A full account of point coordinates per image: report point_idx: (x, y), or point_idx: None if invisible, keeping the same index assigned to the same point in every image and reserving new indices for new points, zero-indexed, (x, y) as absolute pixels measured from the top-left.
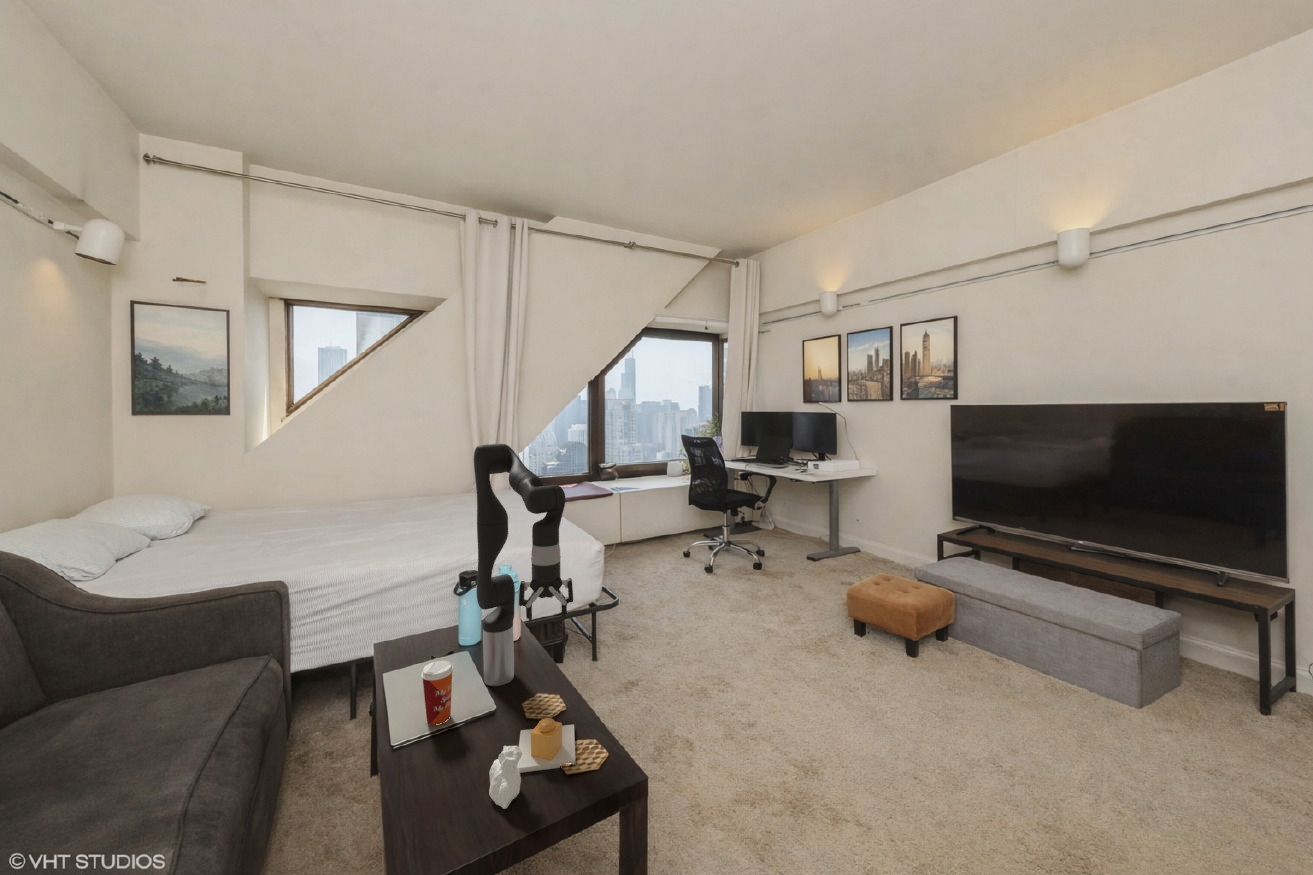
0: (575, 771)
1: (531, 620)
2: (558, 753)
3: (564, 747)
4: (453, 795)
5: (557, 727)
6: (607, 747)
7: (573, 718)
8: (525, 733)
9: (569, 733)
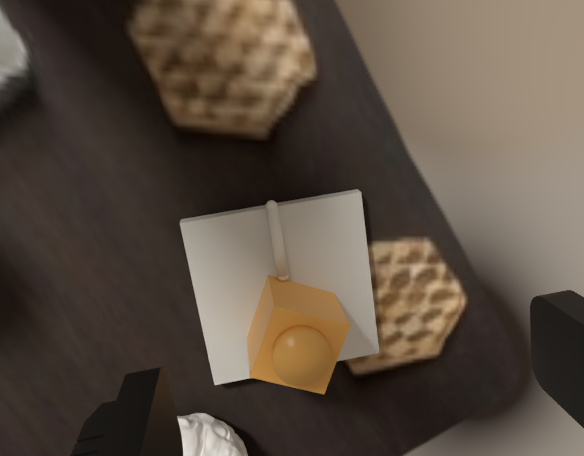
0: (377, 365)
1: (181, 449)
2: None
3: (342, 301)
4: (70, 452)
5: (337, 348)
6: (463, 275)
7: (350, 133)
8: (201, 238)
9: (350, 239)
